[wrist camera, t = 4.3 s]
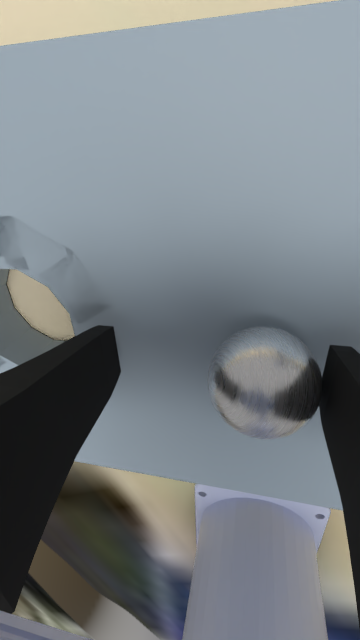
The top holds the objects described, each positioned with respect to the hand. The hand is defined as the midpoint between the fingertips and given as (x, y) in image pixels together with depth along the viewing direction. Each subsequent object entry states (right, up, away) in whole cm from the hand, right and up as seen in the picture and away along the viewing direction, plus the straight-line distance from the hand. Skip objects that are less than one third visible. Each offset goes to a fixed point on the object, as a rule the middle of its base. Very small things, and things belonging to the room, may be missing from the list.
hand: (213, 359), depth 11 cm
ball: (+1, -1, -1) cm, 2 cm away
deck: (-3, +2, +4) cm, 5 cm away
